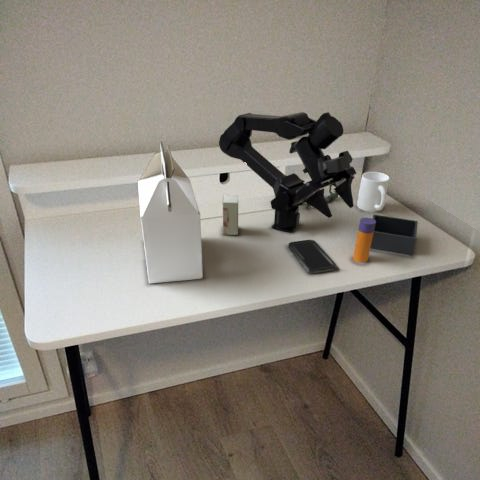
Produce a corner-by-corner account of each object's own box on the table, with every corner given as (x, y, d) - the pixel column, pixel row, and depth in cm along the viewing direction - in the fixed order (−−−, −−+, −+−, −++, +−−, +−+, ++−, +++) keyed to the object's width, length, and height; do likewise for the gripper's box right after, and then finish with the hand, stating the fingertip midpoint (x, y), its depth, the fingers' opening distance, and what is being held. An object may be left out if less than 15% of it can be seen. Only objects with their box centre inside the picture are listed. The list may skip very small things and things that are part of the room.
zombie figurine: (300, 183, 147) (337, 176, 154) (298, 204, 151) (334, 196, 158) (311, 189, 144) (348, 181, 150) (308, 210, 148) (345, 201, 154)
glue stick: (349, 259, 124) (356, 219, 117) (359, 255, 126) (367, 216, 119) (360, 265, 121) (368, 225, 114) (370, 261, 123) (379, 221, 116)
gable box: (203, 279, 115) (198, 167, 98) (148, 284, 113) (134, 170, 95) (192, 237, 132) (187, 135, 115) (145, 241, 130) (132, 138, 113)
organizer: (365, 249, 128) (369, 231, 125) (369, 231, 137) (373, 214, 133) (411, 257, 125) (416, 238, 122) (412, 238, 134) (417, 220, 130)
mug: (392, 217, 145) (400, 185, 138) (368, 219, 143) (374, 187, 137) (375, 201, 154) (382, 170, 148) (352, 203, 152) (357, 172, 146)
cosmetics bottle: (223, 226, 137) (223, 194, 131) (238, 227, 137) (238, 194, 131) (222, 235, 133) (222, 201, 127) (237, 235, 133) (238, 202, 127)
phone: (313, 239, 130) (337, 266, 119) (312, 242, 131) (336, 269, 119) (286, 242, 128) (308, 270, 117) (286, 246, 129) (308, 274, 117)
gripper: (309, 149, 109) (340, 208, 109) (356, 134, 119) (384, 188, 120) (282, 173, 118) (311, 227, 119) (328, 157, 129) (354, 207, 129)
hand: (341, 212), depth 121 cm, fingers open, 9 cm apart
